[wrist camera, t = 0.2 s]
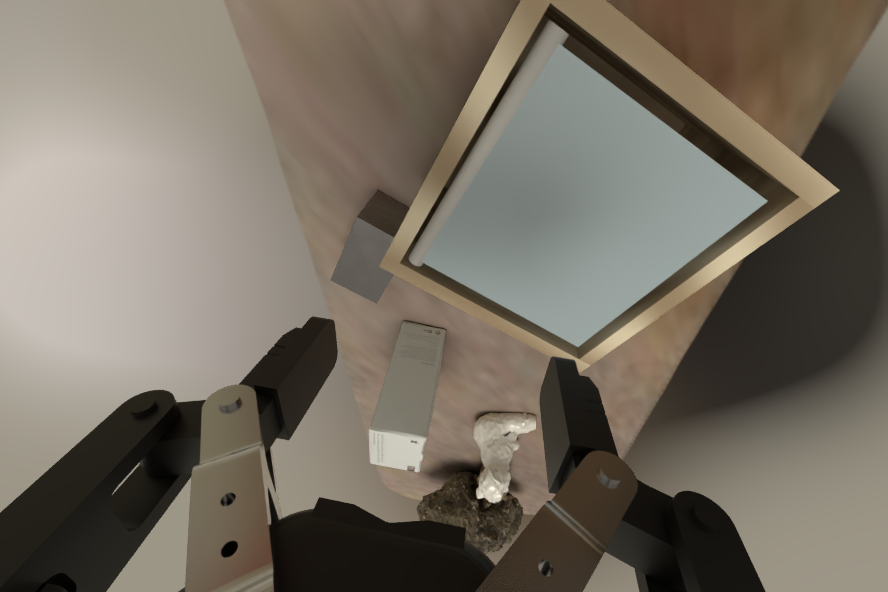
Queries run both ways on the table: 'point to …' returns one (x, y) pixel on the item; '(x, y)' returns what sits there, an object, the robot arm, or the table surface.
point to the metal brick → (370, 247)
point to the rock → (473, 512)
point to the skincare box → (407, 398)
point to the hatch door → (577, 199)
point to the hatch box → (668, 98)
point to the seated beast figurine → (498, 449)
